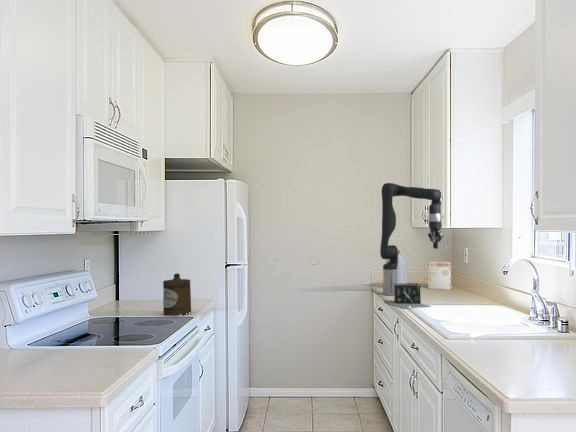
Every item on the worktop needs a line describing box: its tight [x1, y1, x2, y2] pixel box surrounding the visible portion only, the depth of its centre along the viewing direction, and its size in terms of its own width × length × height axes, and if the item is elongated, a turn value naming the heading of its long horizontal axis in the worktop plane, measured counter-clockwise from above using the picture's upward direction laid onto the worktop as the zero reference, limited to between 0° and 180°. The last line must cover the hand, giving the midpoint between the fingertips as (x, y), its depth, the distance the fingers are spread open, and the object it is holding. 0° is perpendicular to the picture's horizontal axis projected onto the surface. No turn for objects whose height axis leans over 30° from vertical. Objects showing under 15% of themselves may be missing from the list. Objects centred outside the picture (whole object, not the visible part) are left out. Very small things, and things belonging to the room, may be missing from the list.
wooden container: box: [162, 273, 192, 316], centre depth 255 cm, size 15×15×22 cm
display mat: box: [383, 301, 432, 310], centre depth 273 cm, size 22×18×1 cm
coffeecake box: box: [427, 261, 452, 291], centre depth 339 cm, size 15×7×20 cm, turn 58°
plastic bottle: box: [385, 249, 409, 284], centre depth 347 cm, size 15×15×28 cm
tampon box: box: [393, 282, 422, 304], centre depth 279 cm, size 11×9×15 cm
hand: (435, 248), depth 290 cm, fingers closed
